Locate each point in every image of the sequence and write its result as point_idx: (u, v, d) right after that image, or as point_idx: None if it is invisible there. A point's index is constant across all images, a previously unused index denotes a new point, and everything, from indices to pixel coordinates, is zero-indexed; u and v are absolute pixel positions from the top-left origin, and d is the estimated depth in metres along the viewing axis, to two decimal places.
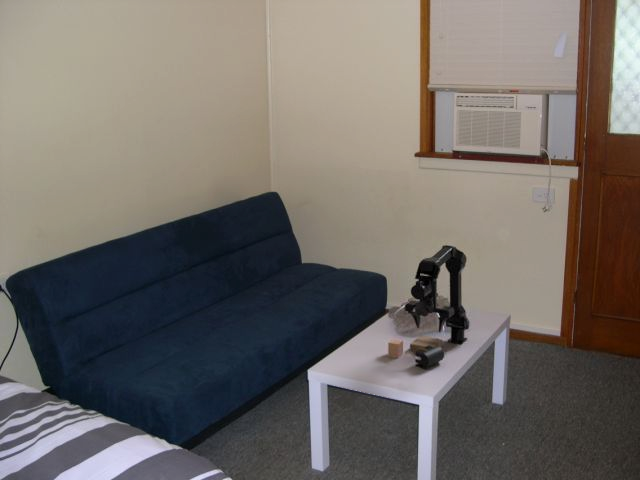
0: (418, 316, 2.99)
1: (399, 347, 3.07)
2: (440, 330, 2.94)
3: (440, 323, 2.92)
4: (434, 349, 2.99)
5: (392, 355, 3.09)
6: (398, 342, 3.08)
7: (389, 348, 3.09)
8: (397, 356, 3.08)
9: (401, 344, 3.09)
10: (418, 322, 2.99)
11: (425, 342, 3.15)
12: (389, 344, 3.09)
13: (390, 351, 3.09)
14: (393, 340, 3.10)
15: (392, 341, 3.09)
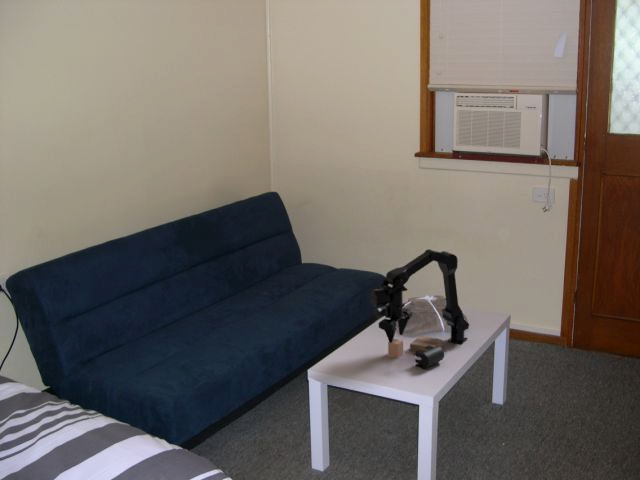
0: (402, 324, 3.11)
1: (399, 347, 3.07)
2: None
3: None
4: (434, 349, 2.99)
5: (392, 355, 3.09)
6: (398, 342, 3.08)
7: (389, 348, 3.09)
8: (397, 356, 3.08)
9: (401, 344, 3.09)
10: (400, 329, 3.12)
11: (425, 342, 3.15)
12: (389, 344, 3.09)
13: (390, 351, 3.09)
14: (394, 340, 3.10)
15: (392, 341, 3.09)
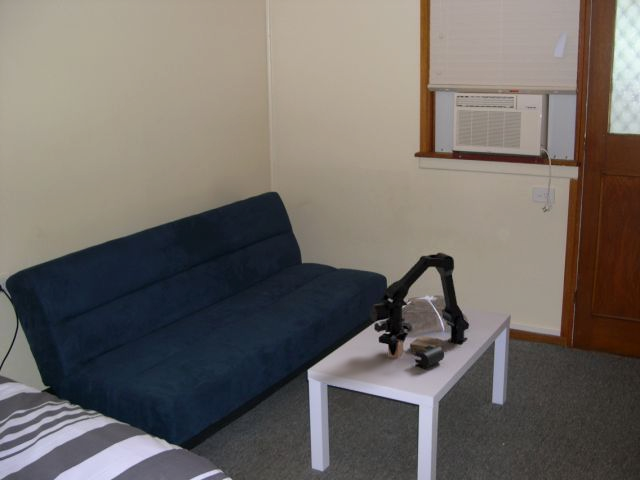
0: None
1: (399, 347, 3.07)
2: (391, 352, 3.08)
3: None
4: (434, 349, 2.99)
5: (392, 355, 3.09)
6: (398, 342, 3.08)
7: (389, 348, 3.09)
8: (397, 356, 3.08)
9: (401, 344, 3.09)
10: None
11: (425, 342, 3.15)
12: None
13: (390, 351, 3.09)
14: None
15: None
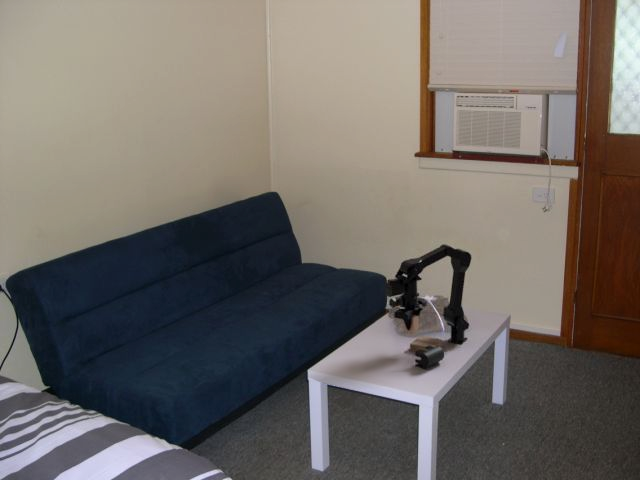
0: None
1: (414, 322, 3.08)
2: None
3: None
4: (434, 349, 2.99)
5: (407, 330, 3.09)
6: None
7: (404, 323, 3.09)
8: (412, 331, 3.08)
9: (416, 319, 3.09)
10: None
11: (425, 342, 3.15)
12: None
13: None
14: None
15: None
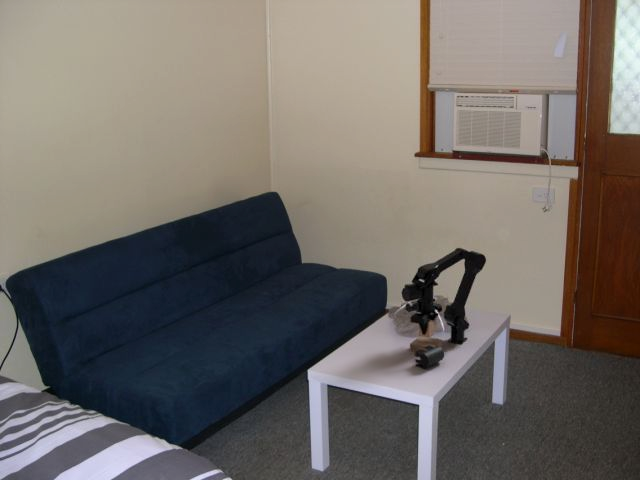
0: None
1: (429, 327, 3.11)
2: (422, 332, 3.12)
3: None
4: (434, 349, 2.99)
5: (423, 335, 3.13)
6: (429, 322, 3.12)
7: (420, 328, 3.13)
8: (428, 335, 3.12)
9: (432, 324, 3.13)
10: None
11: (425, 342, 3.15)
12: None
13: (421, 331, 3.13)
14: None
15: None
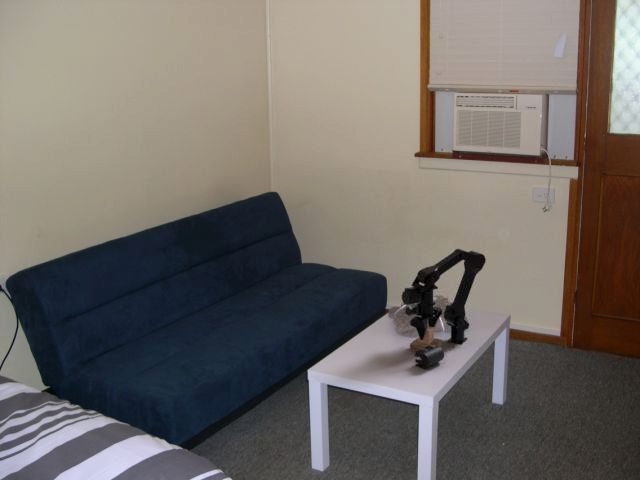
0: (432, 322, 3.17)
1: (429, 334, 3.12)
2: (420, 337, 3.11)
3: None
4: (434, 349, 2.99)
5: (423, 341, 3.14)
6: (429, 329, 3.13)
7: None
8: (428, 342, 3.13)
9: (432, 331, 3.14)
10: None
11: None
12: None
13: None
14: None
15: None
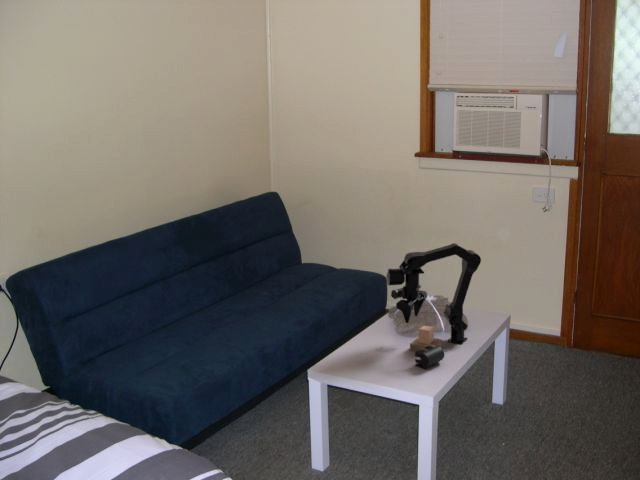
0: (417, 305, 3.21)
1: (429, 334, 3.12)
2: (405, 320, 3.14)
3: None
4: (434, 349, 2.99)
5: (423, 341, 3.14)
6: (429, 329, 3.13)
7: (420, 335, 3.14)
8: (428, 342, 3.13)
9: (432, 331, 3.14)
10: (415, 310, 3.21)
11: None
12: (420, 331, 3.13)
13: (421, 338, 3.14)
14: (424, 327, 3.15)
15: (423, 328, 3.14)
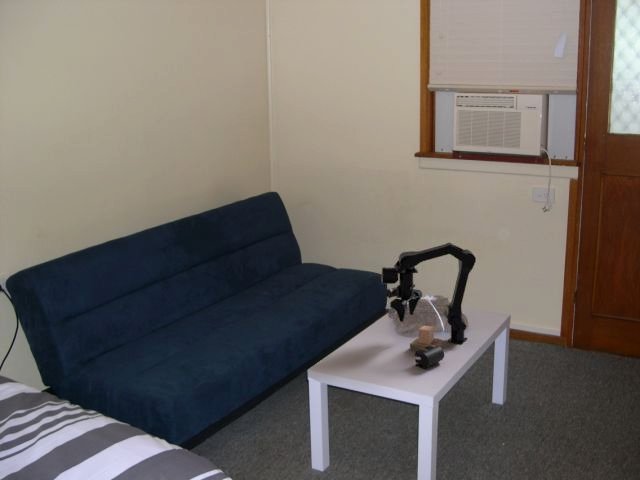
0: (412, 304, 3.23)
1: (429, 334, 3.12)
2: (400, 319, 3.16)
3: None
4: (434, 349, 2.99)
5: (423, 341, 3.14)
6: (429, 329, 3.13)
7: (420, 335, 3.14)
8: (428, 342, 3.13)
9: (432, 331, 3.14)
10: (411, 309, 3.24)
11: None
12: (420, 331, 3.13)
13: (421, 338, 3.14)
14: (424, 327, 3.15)
15: (423, 328, 3.14)
